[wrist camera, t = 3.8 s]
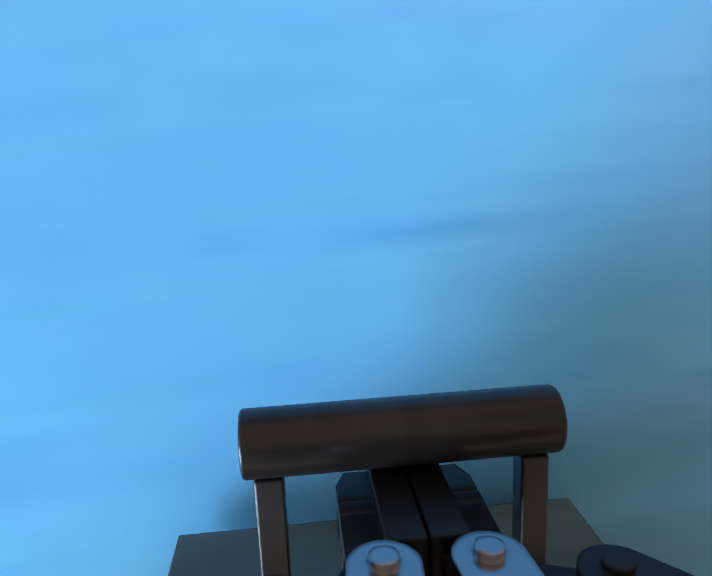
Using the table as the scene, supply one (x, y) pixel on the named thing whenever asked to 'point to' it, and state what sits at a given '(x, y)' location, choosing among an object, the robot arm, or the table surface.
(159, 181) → the table surface
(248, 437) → the drawer
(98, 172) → the table surface
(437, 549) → the robot arm
